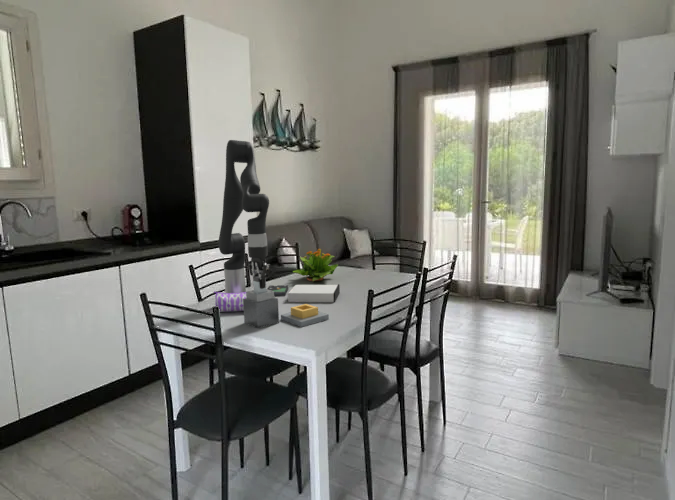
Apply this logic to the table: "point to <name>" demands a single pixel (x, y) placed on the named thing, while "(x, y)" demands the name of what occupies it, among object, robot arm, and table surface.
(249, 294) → the grey open sleeve
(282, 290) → the disk drive
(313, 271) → the potted flower
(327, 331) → the table surface
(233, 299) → the pencil case
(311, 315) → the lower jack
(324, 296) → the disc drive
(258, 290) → the plug
